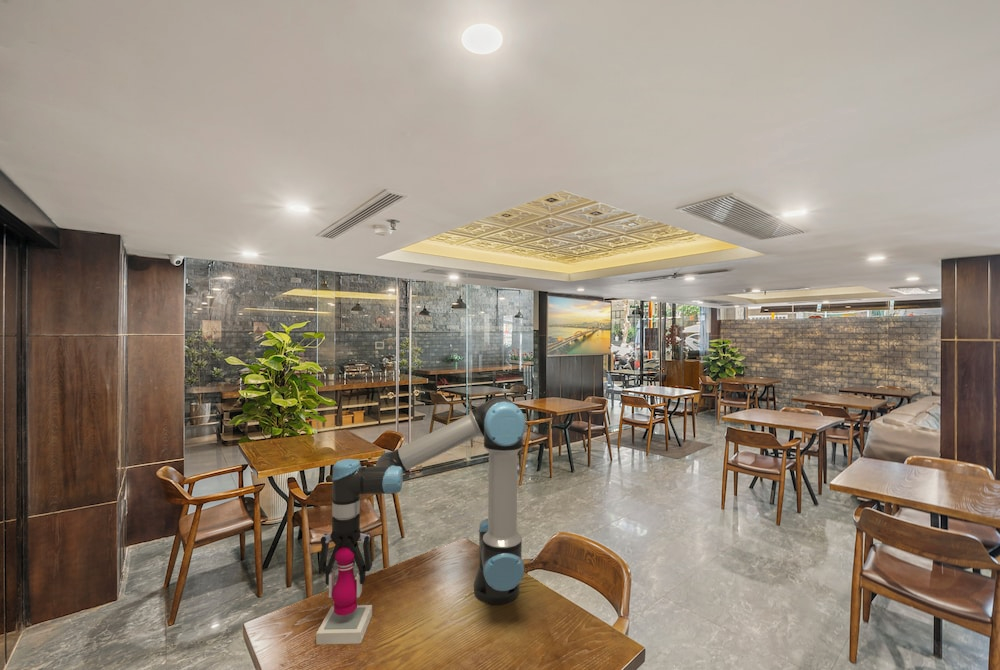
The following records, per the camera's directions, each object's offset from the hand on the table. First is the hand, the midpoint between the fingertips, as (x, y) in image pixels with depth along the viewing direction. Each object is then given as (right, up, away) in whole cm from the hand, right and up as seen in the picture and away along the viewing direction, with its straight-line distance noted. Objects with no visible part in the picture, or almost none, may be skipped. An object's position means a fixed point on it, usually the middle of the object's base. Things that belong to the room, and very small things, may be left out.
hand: (345, 594), depth 123 cm
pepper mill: (0, -4, 0) cm, 4 cm away
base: (0, -10, 0) cm, 10 cm away
